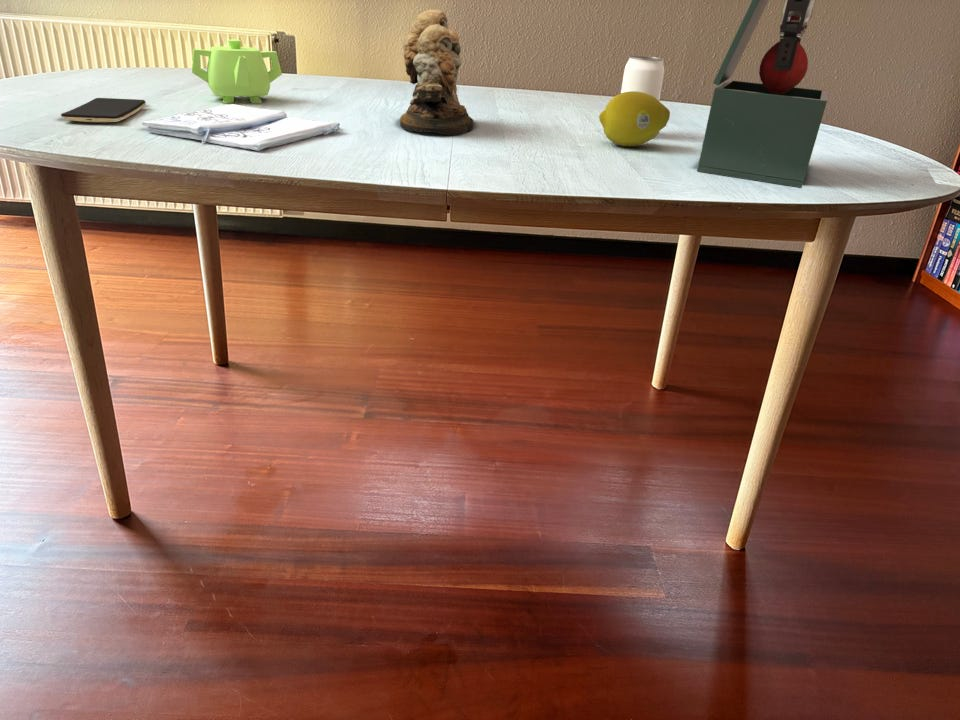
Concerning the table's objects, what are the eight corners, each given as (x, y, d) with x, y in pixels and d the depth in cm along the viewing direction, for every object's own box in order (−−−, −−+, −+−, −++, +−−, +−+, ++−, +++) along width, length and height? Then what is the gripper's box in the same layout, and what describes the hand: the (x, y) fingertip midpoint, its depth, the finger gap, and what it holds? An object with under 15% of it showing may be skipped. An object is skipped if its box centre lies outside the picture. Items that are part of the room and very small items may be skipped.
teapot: (191, 100, 118) (182, 37, 114) (233, 92, 128) (227, 35, 123) (248, 108, 115) (242, 44, 111) (287, 100, 125) (283, 41, 120)
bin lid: (784, -31, 92) (746, -45, 93) (776, -37, 81) (734, -53, 82) (731, 77, 100) (697, 63, 101) (718, 85, 89) (680, 69, 90)
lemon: (597, 148, 104) (605, 92, 100) (593, 138, 111) (600, 85, 107) (668, 154, 103) (679, 98, 100) (659, 143, 110) (669, 91, 106)
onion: (769, 99, 89) (786, 32, 85) (744, 93, 94) (759, 29, 90) (807, 101, 91) (826, 34, 87) (781, 94, 95) (797, 31, 92)
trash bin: (805, 168, 100) (828, 90, 95) (801, 187, 89) (827, 100, 84) (711, 154, 105) (728, 79, 100) (696, 171, 94) (714, 88, 89)
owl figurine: (470, 140, 103) (476, 13, 95) (392, 134, 103) (392, 8, 95) (475, 120, 119) (481, 10, 111) (407, 115, 119) (408, 5, 111)
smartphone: (59, 114, 95) (96, 97, 108) (61, 122, 95) (97, 105, 108) (116, 116, 96) (146, 99, 109) (117, 125, 96) (147, 107, 109)
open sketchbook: (238, 115, 109) (236, 101, 108) (344, 132, 102) (343, 117, 101) (140, 132, 93) (137, 116, 92) (256, 154, 87) (255, 137, 86)
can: (608, 130, 118) (619, 54, 112) (640, 130, 120) (653, 56, 114) (626, 137, 113) (639, 59, 107) (660, 137, 115) (674, 60, 109)
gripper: (856, -87, 76) (811, 76, 84) (854, -75, 87) (814, 68, 95) (785, -89, 78) (748, 69, 86) (791, -76, 90) (758, 62, 98)
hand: (783, 68), depth 91 cm, fingers closed on onion, 6 cm apart
